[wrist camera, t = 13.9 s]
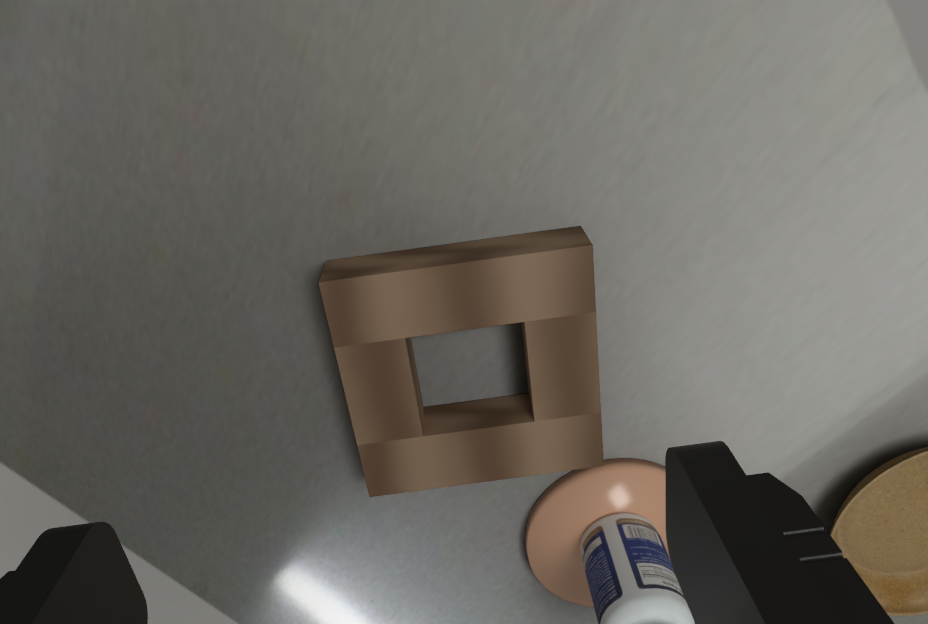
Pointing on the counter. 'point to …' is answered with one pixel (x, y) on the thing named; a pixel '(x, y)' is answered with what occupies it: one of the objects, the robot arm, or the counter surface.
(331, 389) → the counter surface
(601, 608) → the pill bottle
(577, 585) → the salmon pink disc
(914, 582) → the plant saucer
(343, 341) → the block
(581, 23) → the counter surface
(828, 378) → the counter surface
